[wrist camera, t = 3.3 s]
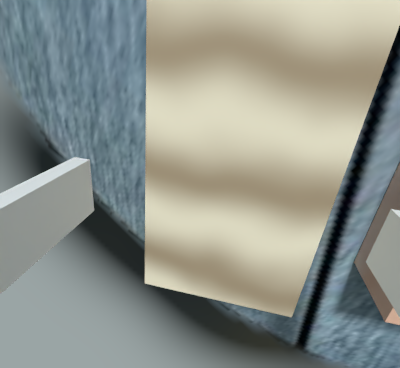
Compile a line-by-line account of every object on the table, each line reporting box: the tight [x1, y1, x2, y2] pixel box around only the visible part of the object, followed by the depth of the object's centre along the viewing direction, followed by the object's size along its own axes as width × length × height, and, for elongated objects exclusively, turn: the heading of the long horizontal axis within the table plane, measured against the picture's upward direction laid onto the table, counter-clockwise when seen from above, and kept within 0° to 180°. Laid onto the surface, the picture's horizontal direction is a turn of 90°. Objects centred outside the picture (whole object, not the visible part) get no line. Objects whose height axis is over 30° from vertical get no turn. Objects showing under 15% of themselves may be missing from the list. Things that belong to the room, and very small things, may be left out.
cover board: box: [145, 0, 400, 317], centre depth 16 cm, size 20×11×2 cm, turn 174°
